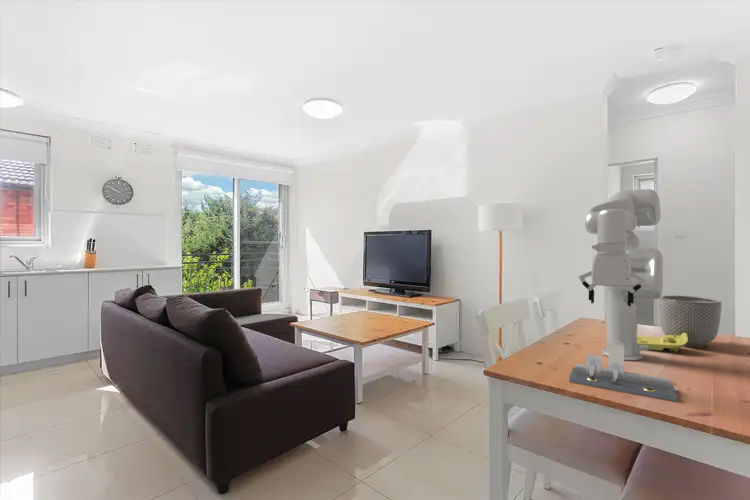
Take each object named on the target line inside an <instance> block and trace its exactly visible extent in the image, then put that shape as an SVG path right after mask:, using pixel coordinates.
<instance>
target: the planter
mask: <svg viewBox="0 0 750 500" xmlns="http://www.w3.org/2000/svg"><path fill="white" fill-rule="evenodd" d="M658 306H659V307H658V308H659V323H660V326H661V327H660V328H661V329H662V332H663V334H664V336H665V335H681V334H683V333H687V337H688V342H687V343H686V344H685V345H684V346H683V347H685V348H692V349H702V348H705V347H706V346H707V344H709V343H712V342H713V341H714V340H716V338H717V336H718V333H719V329H720V324H721V314H722V307H723V306H722V301H721V300H719V299H715V298H710V297H709V298H708V297H704V296H703V297H702V296H693V295H678V294H677V295H676V294H675V295H668V294H667V295H661V296H660V297H659V298H658Z"/></svg>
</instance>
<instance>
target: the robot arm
mask: <svg viewBox="0 0 750 500" xmlns="http://www.w3.org/2000/svg"><path fill="white" fill-rule="evenodd" d="M661 213H662V212H661V201H660V198H659V195H658V193H657V192H656V191H655V190H653V189H651V188H645V189H643V188H642V189H632V190H631V189H629V190H622V191H619V192H617V193H615V194H614V195H613V196H612V197H611V199H610V201H607V202H604V203H601V204H598V205H594V206H593V207H591V208H590V209H589V210H588V212H587V214H586V217H585V219H584V228H585V230H586V231H587V232H588V233H589V234H593V235H596V236H597V240H596V241H597V244H595V245H591V250H594V251H597V252H596V253H594V254H593V258H592V259H593V260H592V267H591V271H588V272H586V273H583V274H581V275H579V276H578V279H579V280H580V282H581V284H582V285H583V286H584V287H585V288H586V289H587V290H588V301H590V304H594V303H595V290H594V288H595V287H596V286H604V289H605V294H606V306H607V307H606V314H607V315H606V347H604V348H602V349H601V353H602V354H603V355H604V356H606V357H608V343H609V341H617V342H624V361H639V360H642V359H643V355H642V353H640V352H641V351H649V350H648V346H647V345H641V346H640V345H639V344H637V336H638V309H637V307H636V305H635V304H634V300H635V299H640V300H641V299H642V300H659V297H660V296H662V295H663V294H662V293H663V285H664V284H663V282H664V258H663V253H662V252H661V251H660V250H659V249H657V248H652V247H651V248H650V247H640V238H639V236H637V234H636V232H634V230H635V229H636V227H649V226H651V227H652V226H656V225H657V224H659V223H660V221H661V217H662V214H661ZM589 277H591V284H590V283H588V282H587V280H586V278H589Z"/></svg>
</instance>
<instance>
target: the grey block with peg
mask: <svg viewBox="0 0 750 500" xmlns="http://www.w3.org/2000/svg"><path fill="white" fill-rule="evenodd" d="M607 359H608V360H607V369H608V371H613V382H618V372H619V373H624V372H625V360H624V342H617V341H609V343H608V356H607Z"/></svg>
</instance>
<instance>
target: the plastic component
mask: <svg viewBox="0 0 750 500" xmlns="http://www.w3.org/2000/svg"><path fill="white" fill-rule="evenodd" d="M687 342H688V337H687V333H683V334H681V335H665V334H664V335H663V336H661V337H658V336H657V337H655V336H641V335H640V336H639V335H637V344H639V345H640V346H641V345H647V346H648V350H647V351H651V350H652V351H664V349H668V350H669V351H671V352H678V351H679V348H682V347H684V345H685V344H686V343H687Z"/></svg>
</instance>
